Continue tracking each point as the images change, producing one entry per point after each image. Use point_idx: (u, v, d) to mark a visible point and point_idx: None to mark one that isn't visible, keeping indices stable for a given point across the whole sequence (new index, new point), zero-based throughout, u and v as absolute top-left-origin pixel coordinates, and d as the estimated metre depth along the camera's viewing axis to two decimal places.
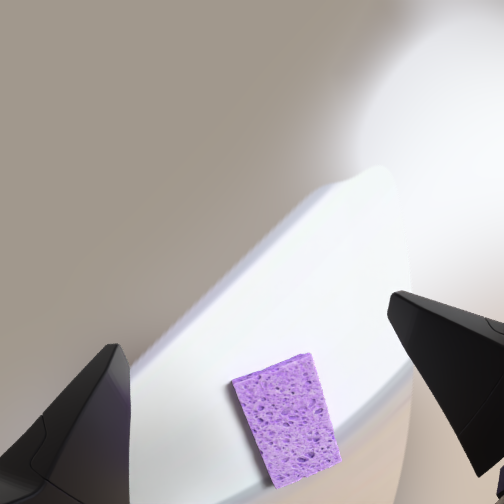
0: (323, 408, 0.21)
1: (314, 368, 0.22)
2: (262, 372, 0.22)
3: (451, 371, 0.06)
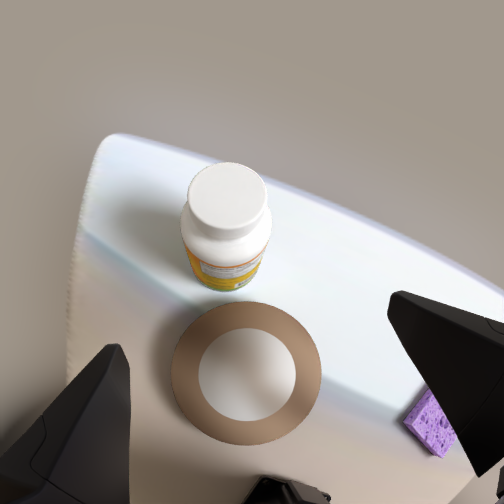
0: None
1: None
2: None
3: (451, 371, 0.06)
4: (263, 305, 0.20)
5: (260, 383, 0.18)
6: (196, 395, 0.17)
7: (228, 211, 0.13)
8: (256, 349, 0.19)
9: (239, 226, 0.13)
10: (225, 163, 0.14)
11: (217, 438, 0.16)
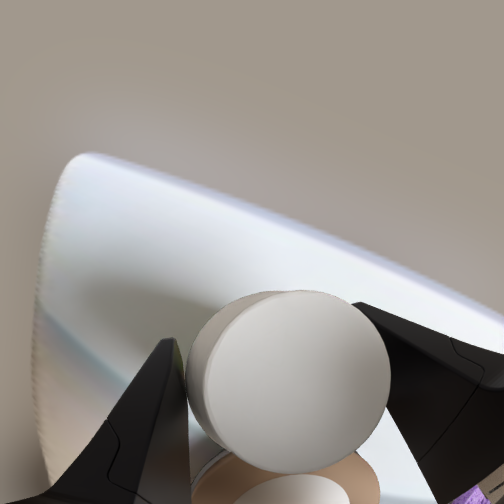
0: None
1: None
2: None
3: (408, 395, 0.06)
4: None
5: None
6: None
7: (310, 436, 0.05)
8: (304, 496, 0.10)
9: (334, 463, 0.04)
10: (295, 294, 0.06)
11: None
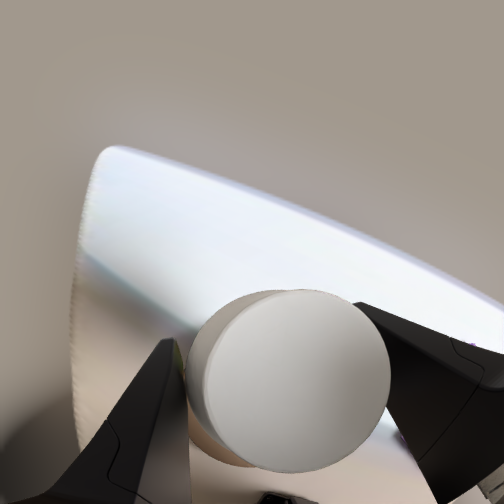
0: None
1: None
2: None
3: (408, 395, 0.06)
4: None
5: None
6: None
7: (310, 436, 0.05)
8: None
9: (334, 462, 0.04)
10: (295, 293, 0.06)
11: (224, 461, 0.16)
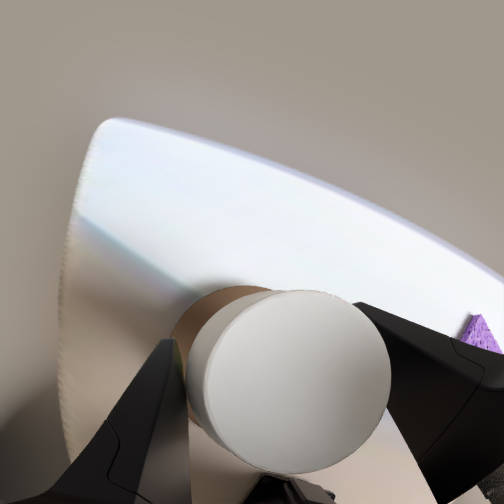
0: None
1: None
2: None
3: (408, 395, 0.06)
4: (264, 290, 0.19)
5: None
6: None
7: (310, 437, 0.05)
8: None
9: (335, 463, 0.04)
10: (295, 293, 0.06)
11: None
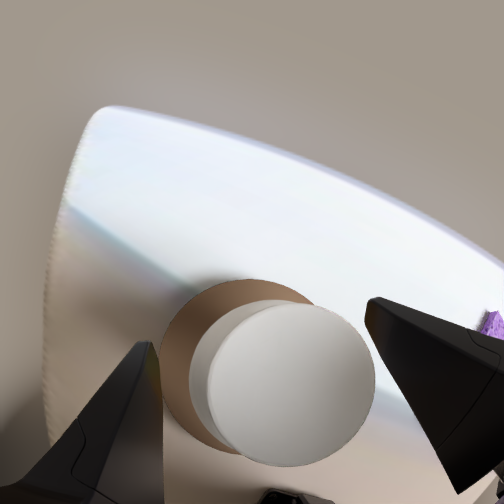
0: None
1: None
2: None
3: (428, 384, 0.06)
4: (271, 284, 0.17)
5: None
6: (189, 394, 0.14)
7: (301, 433, 0.05)
8: None
9: (323, 458, 0.05)
10: (288, 306, 0.06)
11: (215, 446, 0.13)
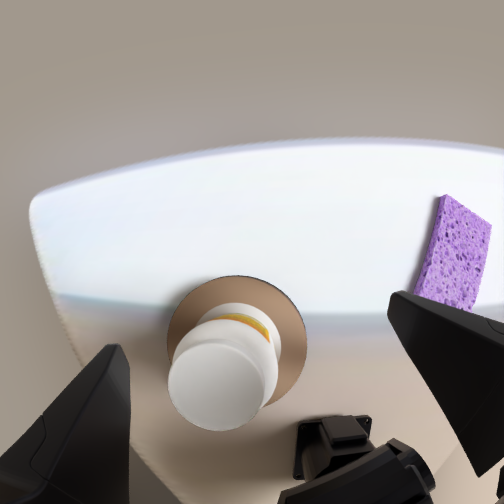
0: (481, 270, 0.20)
1: (489, 235, 0.21)
2: None
3: (451, 371, 0.06)
4: (218, 280, 0.21)
5: None
6: None
7: (228, 411, 0.10)
8: None
9: (249, 420, 0.10)
10: (187, 351, 0.11)
11: None
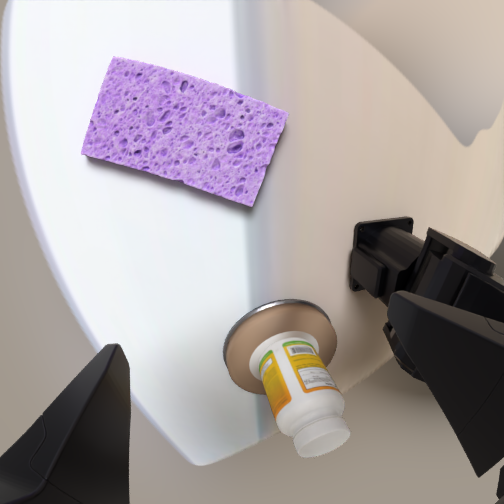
0: (184, 79, 0.15)
1: (129, 61, 0.13)
2: None
3: (451, 371, 0.06)
4: (233, 379, 0.24)
5: None
6: None
7: (338, 437, 0.16)
8: None
9: (345, 429, 0.15)
10: None
11: (335, 343, 0.25)
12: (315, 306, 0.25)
